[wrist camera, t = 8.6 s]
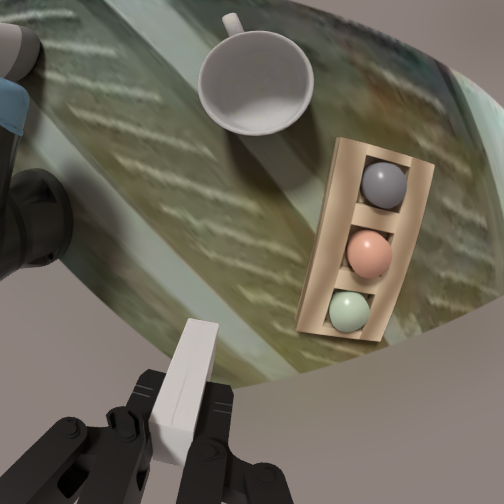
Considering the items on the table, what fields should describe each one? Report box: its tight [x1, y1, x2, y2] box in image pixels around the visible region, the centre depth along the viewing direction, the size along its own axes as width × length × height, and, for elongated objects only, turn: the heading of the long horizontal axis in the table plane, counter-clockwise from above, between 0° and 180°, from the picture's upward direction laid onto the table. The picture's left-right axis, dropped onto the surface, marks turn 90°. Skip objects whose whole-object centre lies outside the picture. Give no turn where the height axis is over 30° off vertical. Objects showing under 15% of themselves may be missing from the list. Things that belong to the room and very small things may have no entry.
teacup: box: [198, 13, 314, 136], centre depth 28 cm, size 14×11×8 cm
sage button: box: [328, 289, 370, 332], centre depth 38 cm, size 5×5×3 cm
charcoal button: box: [359, 162, 407, 208], centre depth 32 cm, size 5×5×3 cm
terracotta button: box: [345, 229, 392, 278], centre depth 34 cm, size 5×5×3 cm
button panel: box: [295, 137, 435, 341], centre depth 36 cm, size 12×24×3 cm, turn 171°
